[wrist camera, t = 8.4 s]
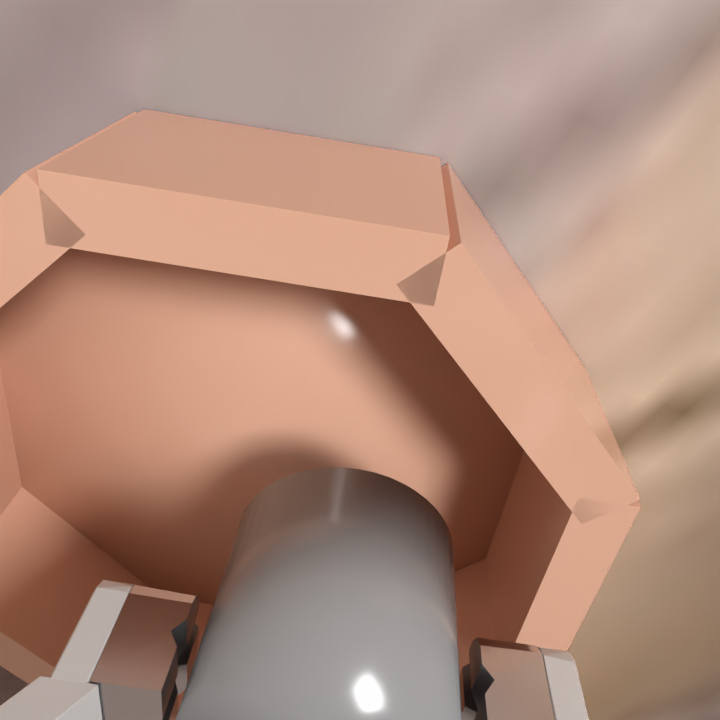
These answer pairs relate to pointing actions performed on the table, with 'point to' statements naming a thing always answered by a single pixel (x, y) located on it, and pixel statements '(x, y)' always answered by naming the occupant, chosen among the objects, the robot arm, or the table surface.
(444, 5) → the table surface
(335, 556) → the grey rounded cylinder
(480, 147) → the table surface
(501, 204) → the table surface
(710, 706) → the table surface
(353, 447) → the bowl
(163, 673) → the robot arm
